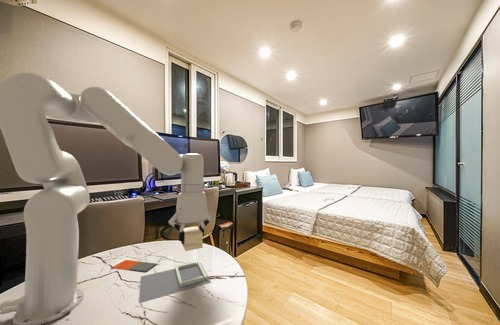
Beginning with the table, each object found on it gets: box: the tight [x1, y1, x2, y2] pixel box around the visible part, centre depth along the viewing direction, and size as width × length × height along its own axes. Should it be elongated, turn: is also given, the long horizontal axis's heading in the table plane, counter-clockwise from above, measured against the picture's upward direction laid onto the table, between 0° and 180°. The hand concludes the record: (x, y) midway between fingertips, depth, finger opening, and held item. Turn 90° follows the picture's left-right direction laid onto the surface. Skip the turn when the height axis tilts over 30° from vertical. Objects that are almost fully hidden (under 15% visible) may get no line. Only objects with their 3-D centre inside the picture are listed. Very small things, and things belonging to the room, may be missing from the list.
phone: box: [111, 259, 158, 274], centre depth 70 cm, size 6×1×15 cm
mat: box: [138, 260, 212, 304], centre depth 62 cm, size 20×14×2 cm
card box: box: [181, 226, 204, 252], centre depth 65 cm, size 8×6×5 cm
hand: (191, 240), depth 65 cm, fingers closed on card box, 5 cm apart
